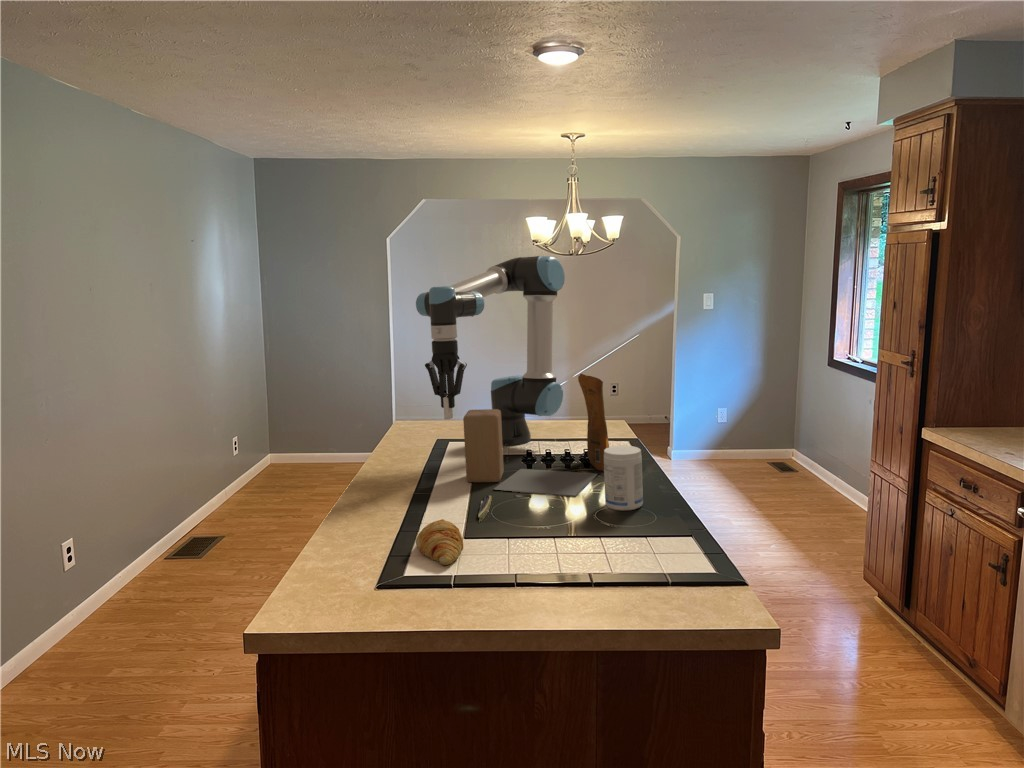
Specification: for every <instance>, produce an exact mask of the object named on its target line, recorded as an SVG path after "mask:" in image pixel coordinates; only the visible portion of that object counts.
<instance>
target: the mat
mask: <svg viewBox="0 0 1024 768" xmlns="http://www.w3.org/2000/svg"><path fill="white" fill-rule="evenodd" d="M597 476H598V473H596V472H595V473H593V472H575V471H564V470H561V471H560V470H549V469H548V470H546V469H545V470H544V469H529V468H520V469H519V470H517V471H516V472H515V473H513V474H511V475H510V476H509V477H508V478H506V479H505V480H504V481H502V482H501V483H500V484H498V485H496V487H494V488H493V489H495V490H504V491H512V492H511V493H517V492H520V493H521V494H530V495H532V494H534V495H545V496H555V497H556V496H557V497H569V498H570V497H572V498H576V497H577V496H578V495H579V494H580V493H582V491H583V490H584V489H585V488H586V487H587V486H588V485H589V484H590V483H591V482H592V481H593V480H594V479H595V478H596V477H597ZM520 493H519V494H520Z"/></svg>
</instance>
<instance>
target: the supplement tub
mask: <svg viewBox="0 0 1024 768" xmlns="http://www.w3.org/2000/svg"><path fill="white" fill-rule="evenodd" d="M642 459H643V458H642V450H641V448H639V447H637V446H632V445H614V446H609V448H606V449H605V450H604V471H603V473H604V474H603V475H604V476H603V478H604V479H603V480H604V498H605V499H604V500H605V505H606V506H607V508H610V509H611V510H614V511H622V512H623V511H624V512H625V511H632V510H633V511H634V510H636V509H639V508H640V507H642V506H643V503H644V496H643V494H644V491H643V486H644V485H643V462H642V461H643V460H642Z"/></svg>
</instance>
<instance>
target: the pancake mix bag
mask: <svg viewBox="0 0 1024 768" xmlns="http://www.w3.org/2000/svg"><path fill="white" fill-rule="evenodd" d="M577 378H578V379H577V381H578V383H579V387H580V389H581V391H582V394H583V398H584V401H585V407H586V412H587V430H586V431H587V434H586V438H587V440H586V441H587V443H586V445H587V458H588V457H589V460H590V462H589V464H590V465H592V466H593V468H594V469H595V470H598V471H603V472H604V450H605V449H606V448H609V447H610V443H609V435H608V434H609V433H608V425H607V421H606V416H605V415H606V412H605V404H604V390H603V389H604V381H603V380H601V379H600V378H599V377H595V376H592V375H586V374H583V373H580V374H579V375H578V377H577Z"/></svg>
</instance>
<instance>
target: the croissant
mask: <svg viewBox="0 0 1024 768" xmlns="http://www.w3.org/2000/svg"><path fill="white" fill-rule="evenodd" d="M415 545H416V548H417V549H418V550H419V551H420V552H421V554H423V555H424V556H426V557H428V558H429V559H431V560H433V561H435V562H437V563H439V564H440V565H443V566H448V565H451V564H452V563H453V562H455V561H456V560H457V559H458V558H459V556H461V554H462V551H463V550H464V541H463V536H462V534H461V532H460V529H459V527H458V526H456V524H454V523H453V522H451V521H448V520H445V519H439V520H435V521H433V522H430V523H428V524H427V525H426V526H424V527H423V528H422V530H421V531H419V533H418V534H417V536H416V539H415Z"/></svg>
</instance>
